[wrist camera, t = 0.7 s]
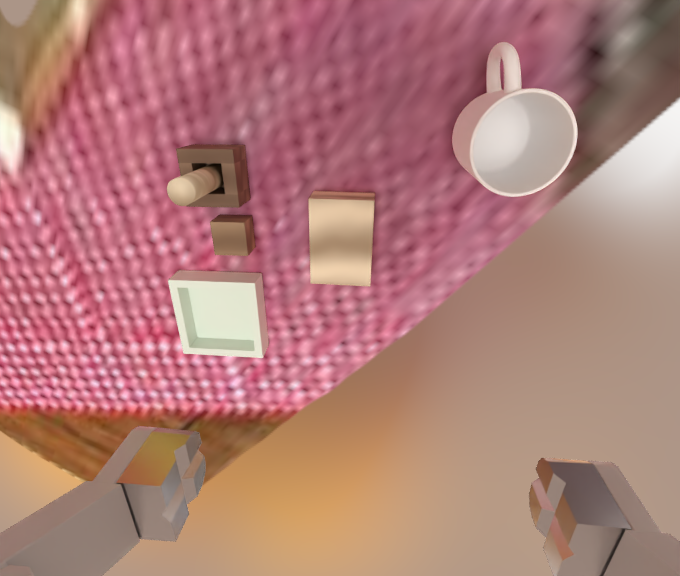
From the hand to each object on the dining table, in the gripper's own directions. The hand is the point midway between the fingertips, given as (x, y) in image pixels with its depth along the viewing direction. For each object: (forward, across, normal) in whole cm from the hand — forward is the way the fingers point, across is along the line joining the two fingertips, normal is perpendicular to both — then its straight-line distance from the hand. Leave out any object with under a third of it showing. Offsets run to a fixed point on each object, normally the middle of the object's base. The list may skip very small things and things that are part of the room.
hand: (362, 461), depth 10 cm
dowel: (+38, +18, -1) cm, 42 cm away
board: (+39, +4, +6) cm, 39 cm away
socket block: (+38, +18, -1) cm, 42 cm away
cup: (+38, -11, -7) cm, 41 cm away
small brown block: (+38, +17, +6) cm, 42 cm away
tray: (+39, +20, +17) cm, 47 cm away
